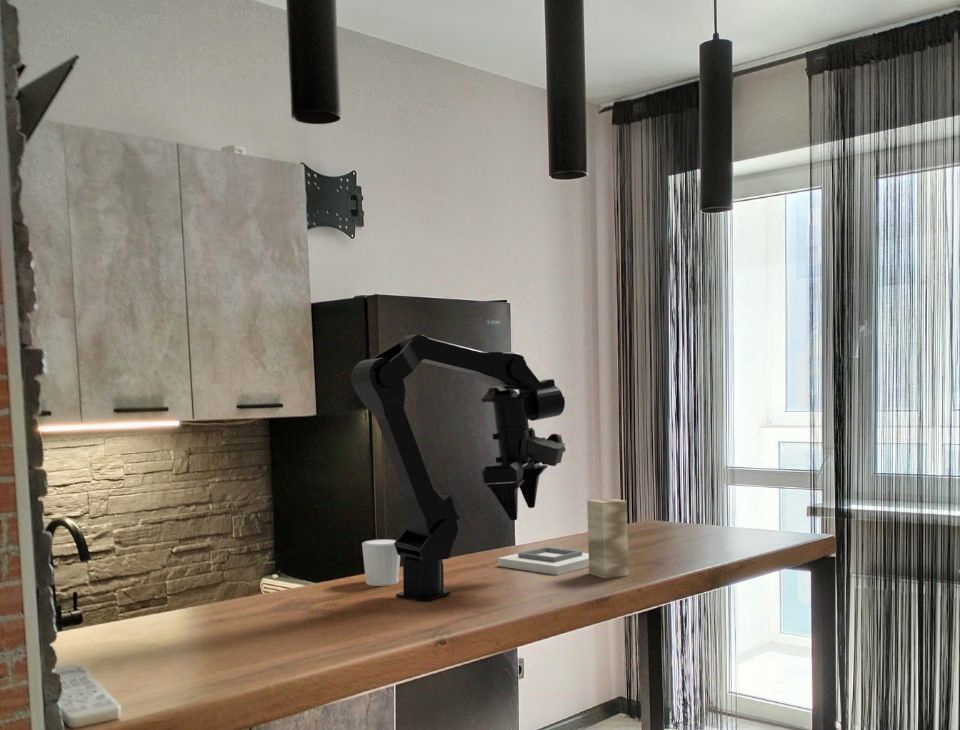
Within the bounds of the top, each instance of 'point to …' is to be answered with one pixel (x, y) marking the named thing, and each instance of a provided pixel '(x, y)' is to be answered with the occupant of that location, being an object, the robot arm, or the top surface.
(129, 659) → the top surface
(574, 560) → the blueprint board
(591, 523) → the maple pillar
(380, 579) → the white cup
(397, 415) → the robot arm
